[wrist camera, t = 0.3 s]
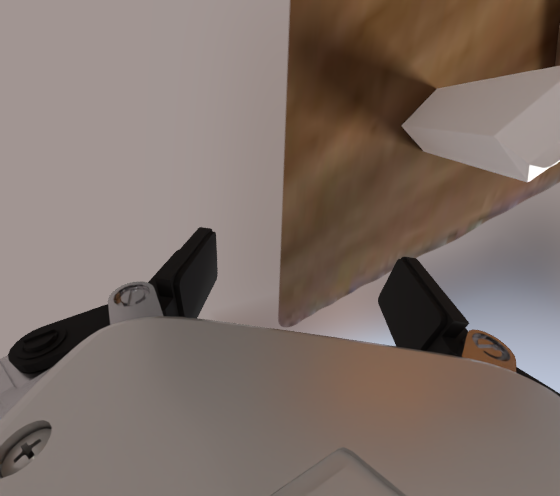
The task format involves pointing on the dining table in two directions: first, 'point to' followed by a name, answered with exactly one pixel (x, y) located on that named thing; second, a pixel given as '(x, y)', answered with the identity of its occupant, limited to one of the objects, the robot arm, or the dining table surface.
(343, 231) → the dining table surface
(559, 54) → the plinth
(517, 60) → the dining table surface
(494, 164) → the milk
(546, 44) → the dining table surface
